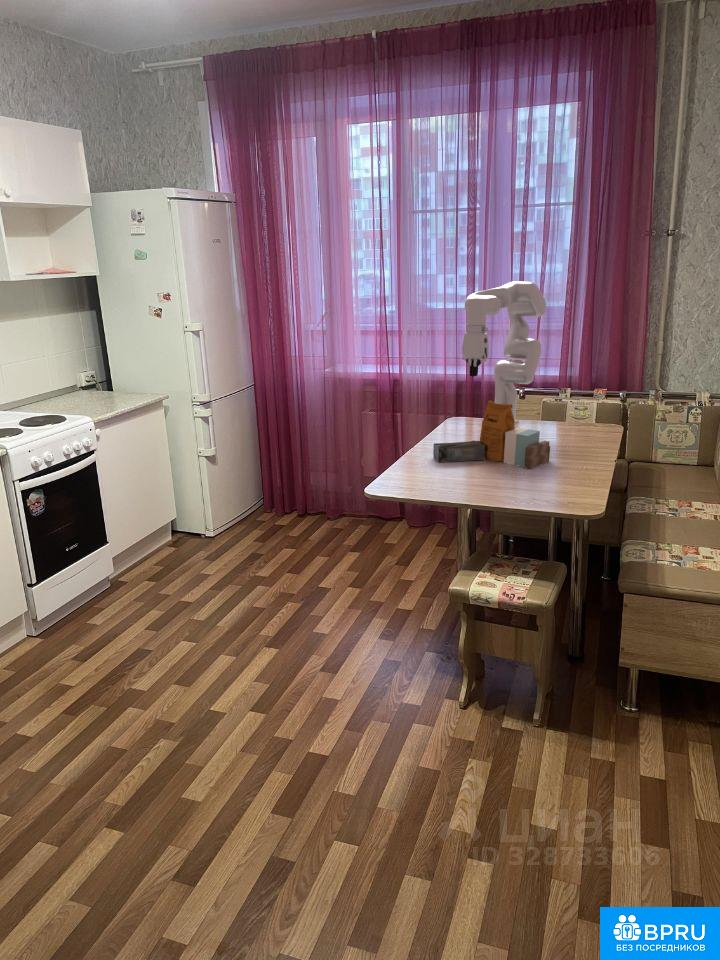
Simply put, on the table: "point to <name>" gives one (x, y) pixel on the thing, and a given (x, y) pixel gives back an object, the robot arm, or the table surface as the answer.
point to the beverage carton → (459, 451)
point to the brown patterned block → (537, 454)
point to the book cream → (511, 445)
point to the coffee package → (496, 429)
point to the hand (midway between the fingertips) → (473, 375)
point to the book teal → (525, 444)
